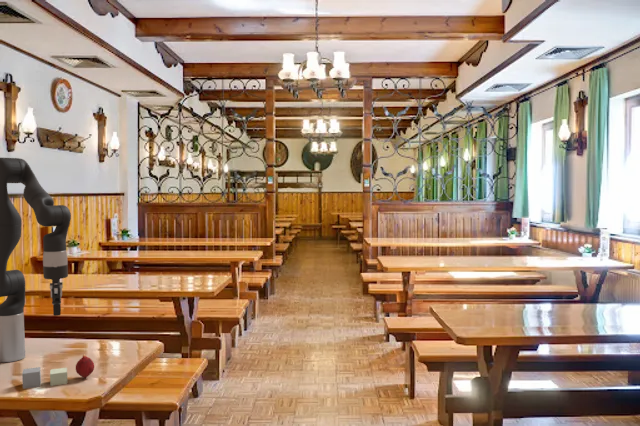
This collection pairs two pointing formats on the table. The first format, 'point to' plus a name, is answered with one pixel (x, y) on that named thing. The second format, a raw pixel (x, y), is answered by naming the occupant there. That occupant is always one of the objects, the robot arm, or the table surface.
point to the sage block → (58, 376)
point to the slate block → (31, 377)
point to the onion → (84, 366)
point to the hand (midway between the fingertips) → (57, 313)
